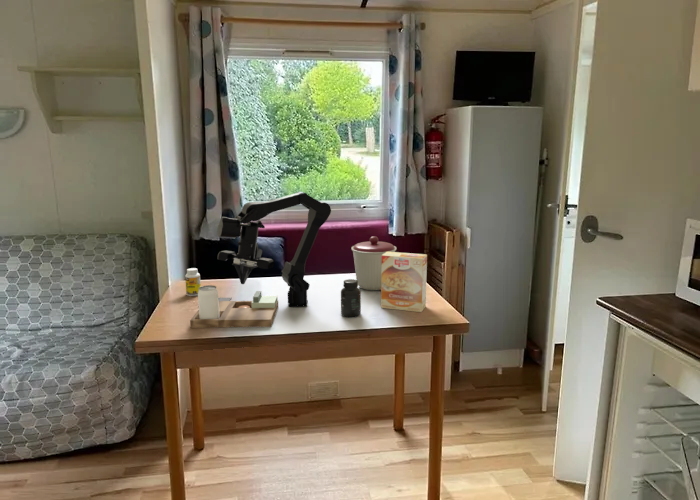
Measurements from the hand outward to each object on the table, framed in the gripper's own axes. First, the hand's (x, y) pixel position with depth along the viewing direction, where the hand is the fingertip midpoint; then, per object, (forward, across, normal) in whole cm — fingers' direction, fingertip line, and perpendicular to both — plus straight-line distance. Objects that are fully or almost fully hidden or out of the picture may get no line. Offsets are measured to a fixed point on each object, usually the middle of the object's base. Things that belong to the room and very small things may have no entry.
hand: (242, 284), depth 181 cm
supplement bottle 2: (+5, -38, -8) cm, 39 cm away
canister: (+1, -39, -42) cm, 57 cm away
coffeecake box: (+1, -54, -19) cm, 57 cm away
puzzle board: (+11, -1, +3) cm, 11 cm away
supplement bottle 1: (+13, +27, -17) cm, 35 cm away
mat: (+11, +14, -9) cm, 20 cm away
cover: (+7, -8, -4) cm, 11 cm away
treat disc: (+10, -1, -2) cm, 11 cm away
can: (+13, +5, +10) cm, 17 cm away
